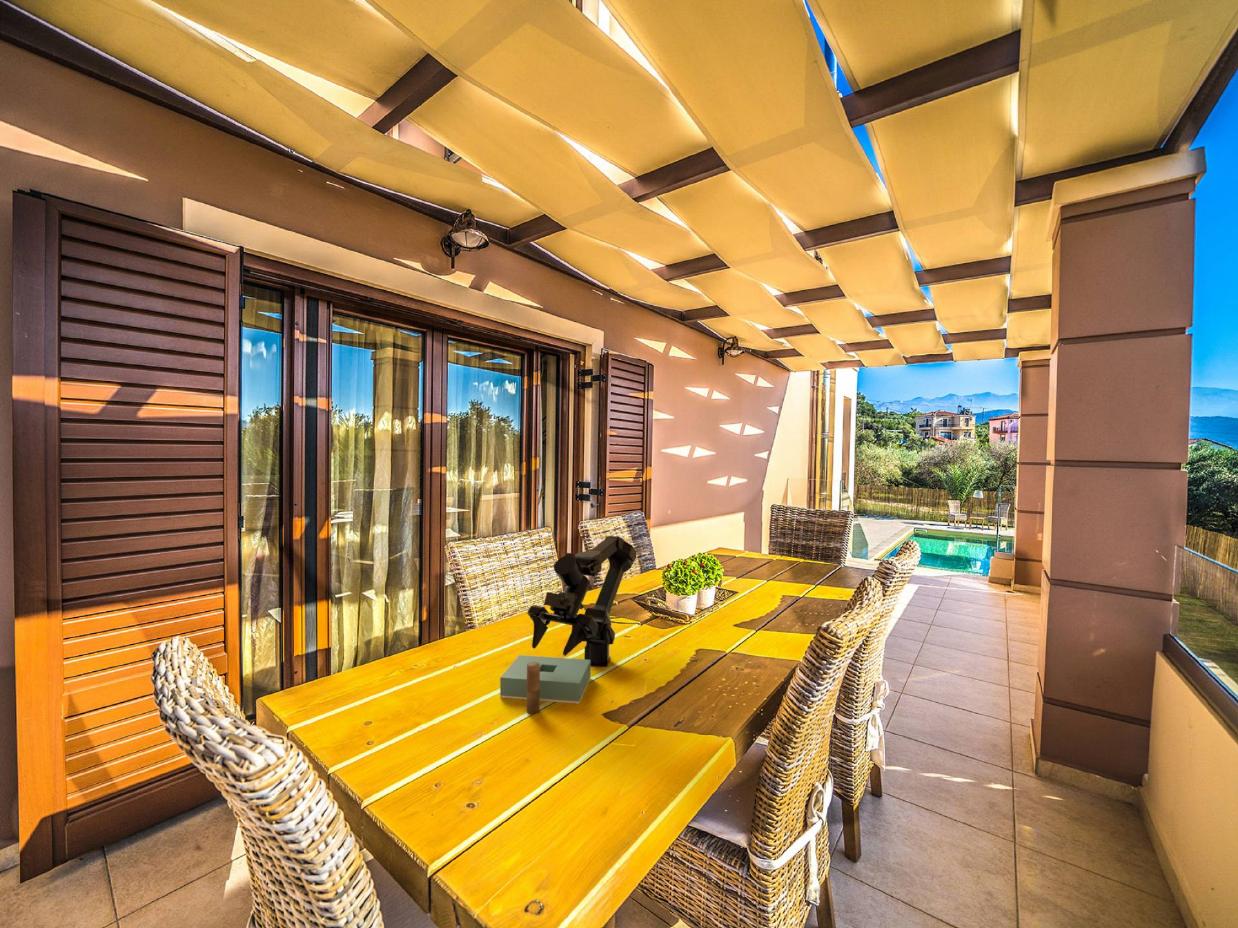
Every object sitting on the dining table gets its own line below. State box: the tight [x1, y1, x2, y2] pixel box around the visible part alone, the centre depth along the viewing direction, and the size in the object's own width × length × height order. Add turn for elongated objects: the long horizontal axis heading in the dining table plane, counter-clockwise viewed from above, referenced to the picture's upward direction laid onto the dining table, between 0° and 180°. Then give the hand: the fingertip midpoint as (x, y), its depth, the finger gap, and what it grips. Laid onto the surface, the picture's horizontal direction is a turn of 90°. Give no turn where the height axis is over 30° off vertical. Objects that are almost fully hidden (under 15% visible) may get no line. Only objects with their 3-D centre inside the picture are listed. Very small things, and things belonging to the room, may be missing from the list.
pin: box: [526, 662, 541, 715], centre depth 119 cm, size 3×3×11 cm
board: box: [499, 654, 592, 705], centre depth 131 cm, size 20×14×5 cm
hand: (548, 651), depth 124 cm, fingers open, 9 cm apart
